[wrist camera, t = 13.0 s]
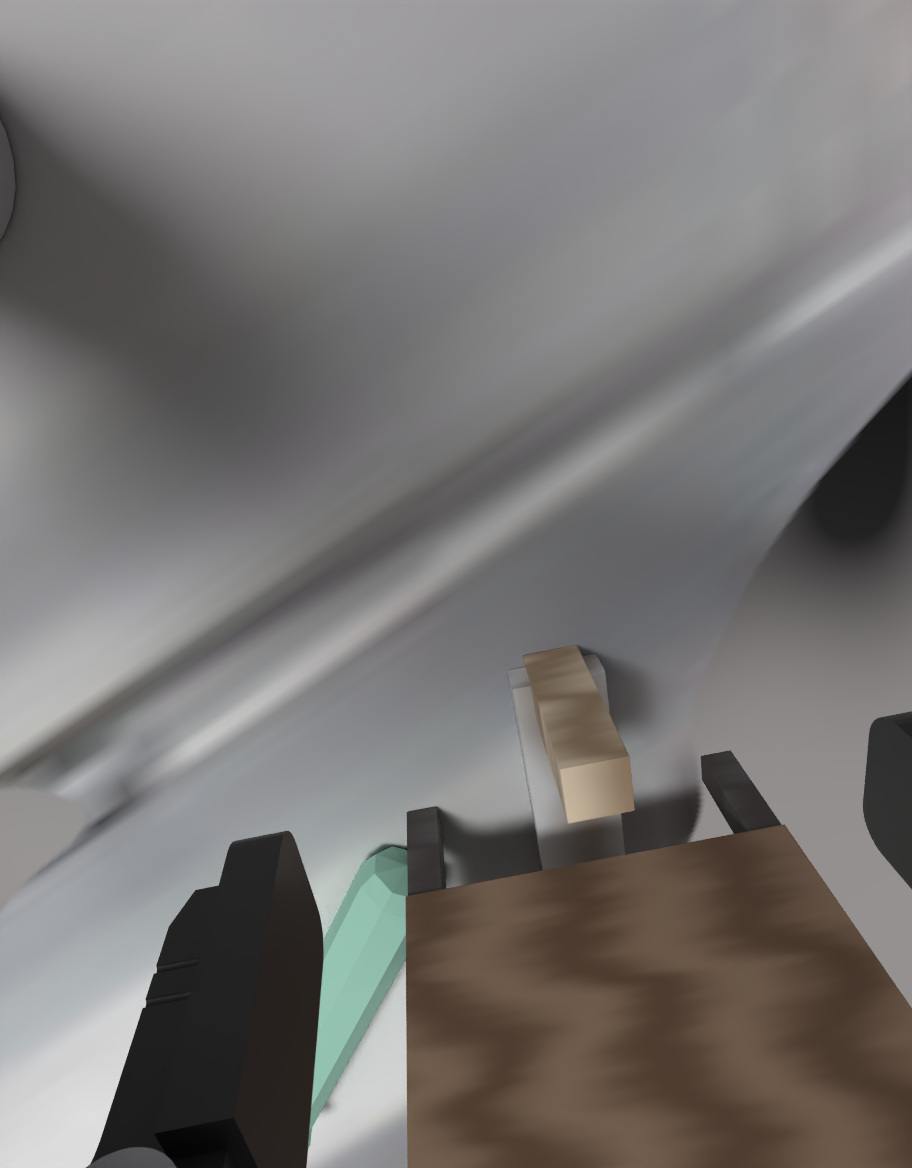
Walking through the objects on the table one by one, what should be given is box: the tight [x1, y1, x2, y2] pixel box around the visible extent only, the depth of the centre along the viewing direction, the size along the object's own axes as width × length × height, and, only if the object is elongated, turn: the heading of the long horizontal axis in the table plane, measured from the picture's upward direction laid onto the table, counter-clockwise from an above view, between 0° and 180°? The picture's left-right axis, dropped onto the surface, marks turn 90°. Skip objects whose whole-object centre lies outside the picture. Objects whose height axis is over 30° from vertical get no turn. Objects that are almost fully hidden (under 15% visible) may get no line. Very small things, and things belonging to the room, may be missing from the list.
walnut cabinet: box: [406, 751, 912, 1168], centre depth 36 cm, size 20×10×22 cm, turn 100°
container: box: [308, 846, 408, 1148], centre depth 47 cm, size 6×6×25 cm
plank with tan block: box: [507, 645, 635, 870], centre depth 40 cm, size 5×25×10 cm, turn 10°
